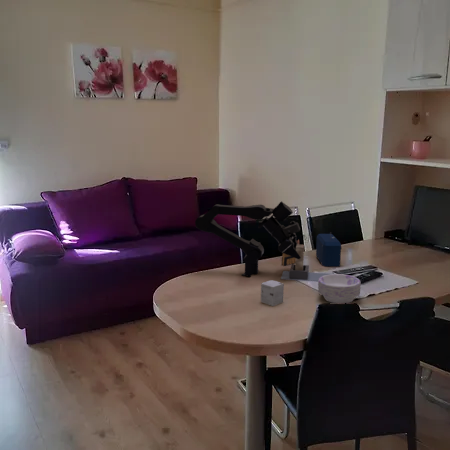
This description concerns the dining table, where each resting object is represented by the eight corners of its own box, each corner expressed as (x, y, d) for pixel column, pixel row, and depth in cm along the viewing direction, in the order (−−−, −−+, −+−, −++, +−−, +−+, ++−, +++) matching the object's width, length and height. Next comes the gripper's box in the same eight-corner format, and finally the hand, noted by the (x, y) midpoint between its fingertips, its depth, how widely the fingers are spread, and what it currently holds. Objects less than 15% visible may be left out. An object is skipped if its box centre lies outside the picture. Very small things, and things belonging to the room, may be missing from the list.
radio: (342, 269, 211) (344, 225, 207) (322, 269, 211) (324, 225, 207) (332, 256, 231) (334, 217, 227) (315, 256, 231) (316, 217, 228)
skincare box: (260, 302, 170) (260, 283, 169) (271, 298, 174) (271, 279, 173) (273, 306, 166) (273, 287, 164) (283, 302, 170) (284, 283, 169)
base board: (280, 281, 194) (280, 278, 193) (283, 272, 205) (283, 270, 205) (339, 285, 188) (339, 283, 188) (339, 276, 200) (339, 274, 200)
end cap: (289, 278, 194) (289, 270, 193) (291, 272, 203) (291, 264, 202) (307, 279, 192) (307, 271, 192) (308, 273, 201) (308, 265, 201)
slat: (295, 276, 195) (295, 247, 193) (296, 272, 200) (296, 244, 198) (302, 276, 195) (303, 247, 192) (303, 273, 199) (304, 244, 197)
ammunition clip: (284, 268, 212) (284, 242, 210) (281, 267, 214) (281, 241, 211) (300, 264, 219) (301, 239, 216) (297, 263, 220) (298, 238, 218)
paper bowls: (309, 295, 177) (310, 275, 175) (343, 290, 182) (344, 271, 180) (332, 309, 163) (333, 288, 161) (368, 304, 168) (369, 283, 167)
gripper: (287, 220, 185) (314, 248, 184) (291, 212, 202) (315, 238, 202) (266, 238, 188) (293, 266, 188) (272, 229, 206) (297, 254, 206)
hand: (300, 255), depth 196 cm, fingers open, 9 cm apart
